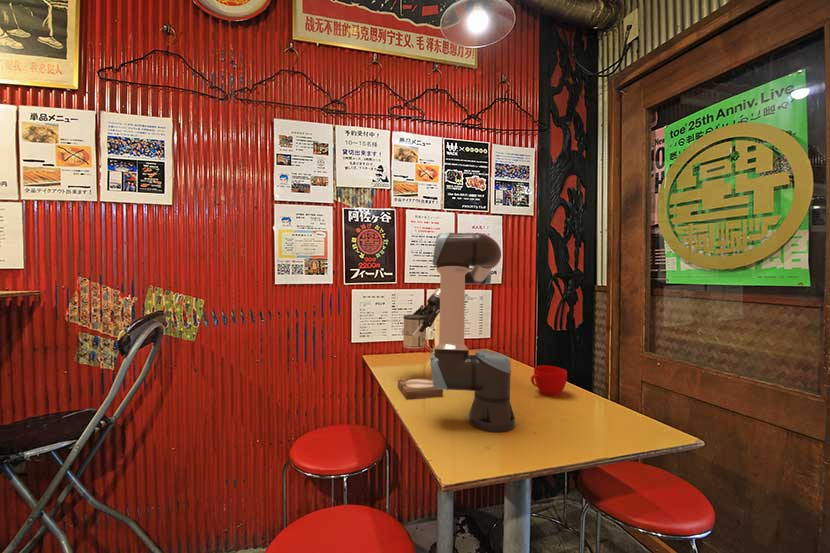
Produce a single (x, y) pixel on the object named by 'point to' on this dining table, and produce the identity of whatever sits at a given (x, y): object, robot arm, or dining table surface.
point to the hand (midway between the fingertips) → (408, 334)
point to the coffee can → (410, 327)
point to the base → (419, 388)
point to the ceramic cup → (549, 379)
